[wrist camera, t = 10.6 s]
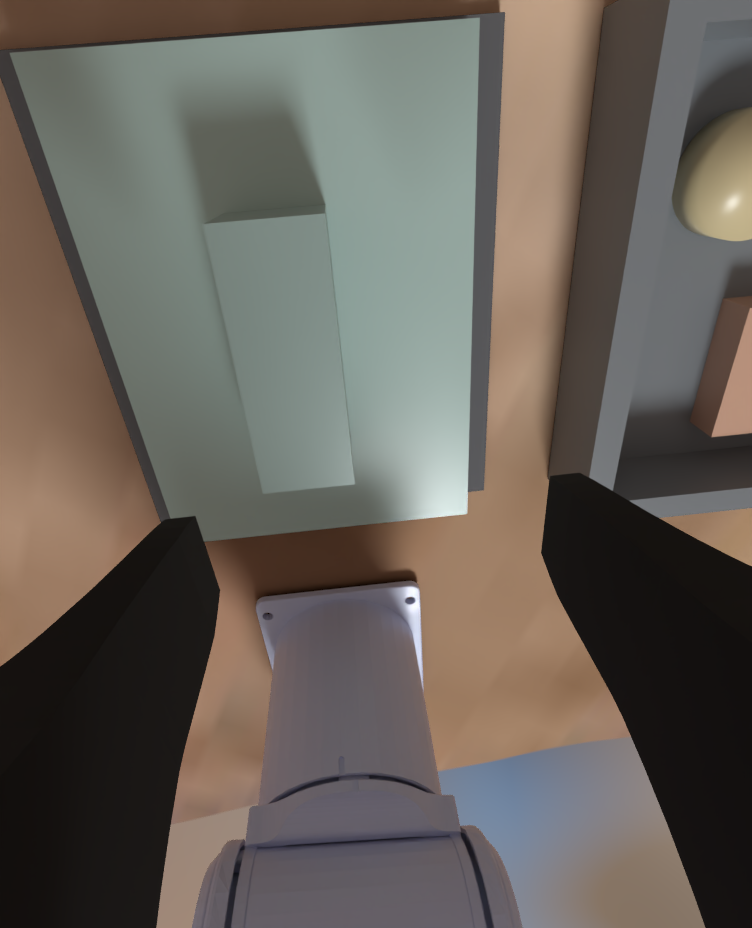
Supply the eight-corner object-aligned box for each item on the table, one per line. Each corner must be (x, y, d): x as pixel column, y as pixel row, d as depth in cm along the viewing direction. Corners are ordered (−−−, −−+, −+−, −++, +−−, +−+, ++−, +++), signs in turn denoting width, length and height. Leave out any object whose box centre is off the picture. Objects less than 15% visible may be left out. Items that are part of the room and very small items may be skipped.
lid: (460, 497, 23) (486, 561, 19) (186, 526, 22) (159, 597, 19) (469, 27, 14) (516, -17, 11) (33, 60, 14) (-70, 26, 10)
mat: (481, 485, 23) (483, 490, 22) (164, 518, 22) (161, 523, 22) (500, 15, 15) (504, 12, 14) (-1, 53, 14) (-10, 51, 14)
